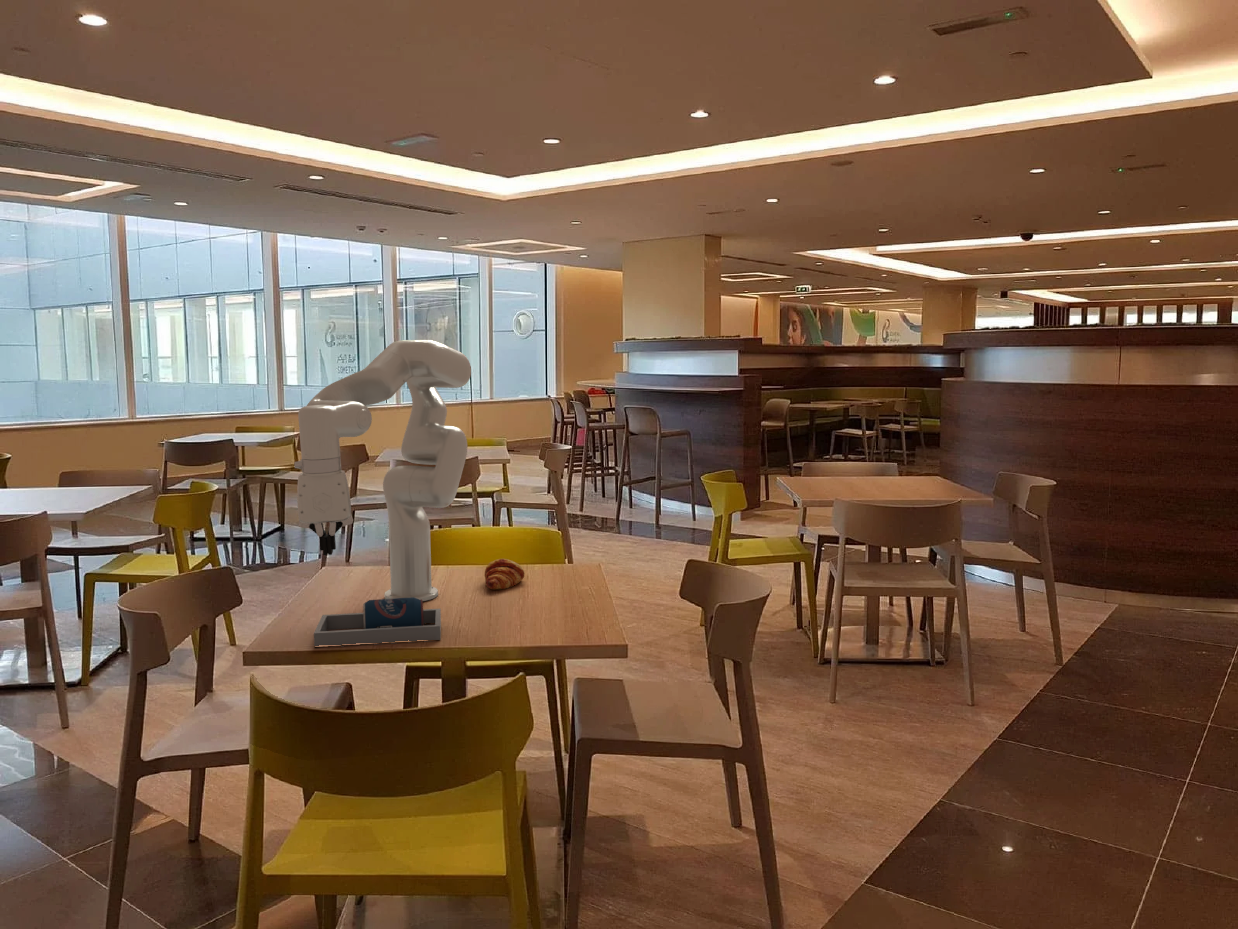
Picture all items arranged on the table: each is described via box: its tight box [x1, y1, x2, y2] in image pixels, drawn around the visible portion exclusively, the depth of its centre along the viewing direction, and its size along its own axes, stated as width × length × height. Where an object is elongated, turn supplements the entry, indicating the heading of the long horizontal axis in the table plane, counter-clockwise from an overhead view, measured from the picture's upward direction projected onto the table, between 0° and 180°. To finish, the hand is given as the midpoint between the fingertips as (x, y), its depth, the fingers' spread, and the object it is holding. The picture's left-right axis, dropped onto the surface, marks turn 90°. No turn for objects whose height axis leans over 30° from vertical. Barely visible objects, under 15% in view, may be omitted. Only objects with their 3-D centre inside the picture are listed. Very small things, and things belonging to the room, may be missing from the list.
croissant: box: [484, 558, 525, 591], centre depth 228 cm, size 21×10×8 cm, turn 171°
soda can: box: [362, 597, 424, 629], centre depth 187 cm, size 7×7×12 cm
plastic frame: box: [313, 608, 442, 647], centre depth 185 cm, size 13×24×3 cm, turn 101°
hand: (328, 553), depth 184 cm, fingers closed
